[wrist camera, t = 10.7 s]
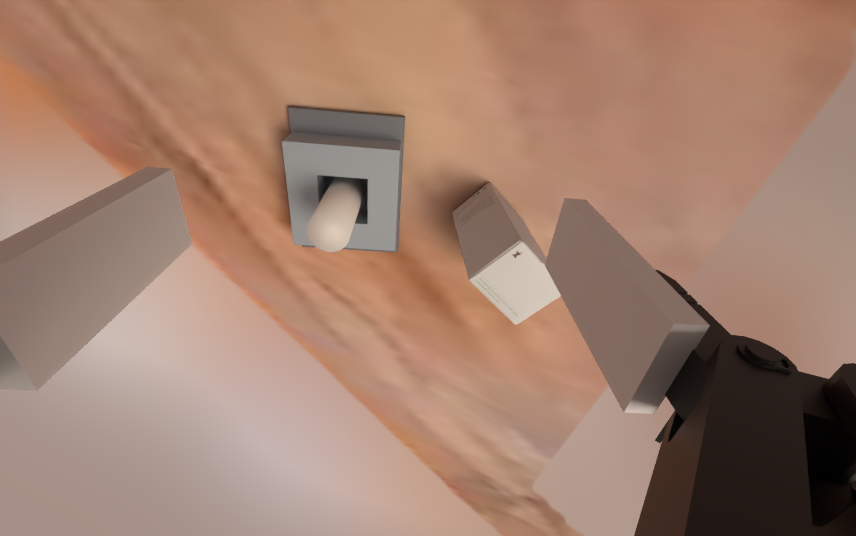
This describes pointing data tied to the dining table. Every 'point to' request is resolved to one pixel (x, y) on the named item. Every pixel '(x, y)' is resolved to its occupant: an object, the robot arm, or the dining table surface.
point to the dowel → (336, 214)
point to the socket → (346, 170)
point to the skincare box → (503, 255)
